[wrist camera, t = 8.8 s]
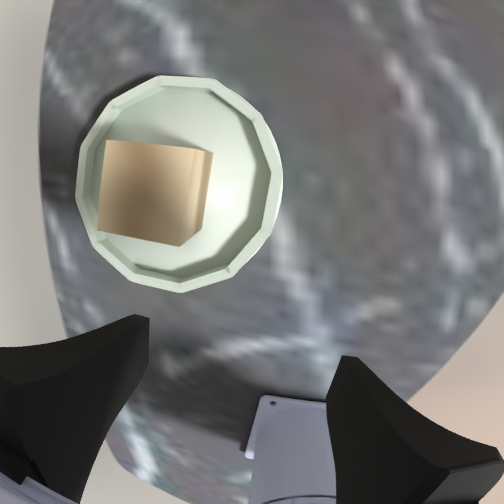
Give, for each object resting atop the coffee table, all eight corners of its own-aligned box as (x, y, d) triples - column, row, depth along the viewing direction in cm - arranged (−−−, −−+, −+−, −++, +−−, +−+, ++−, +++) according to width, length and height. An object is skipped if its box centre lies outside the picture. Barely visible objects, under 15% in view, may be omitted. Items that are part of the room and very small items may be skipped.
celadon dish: (300, 96, 17) (302, 88, 15) (260, 300, 20) (259, 312, 19) (105, 79, 17) (92, 73, 16) (83, 261, 21) (70, 268, 19)
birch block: (213, 153, 18) (193, 148, 13) (201, 228, 19) (179, 246, 14) (142, 144, 18) (106, 139, 13) (133, 216, 19) (96, 230, 15)
